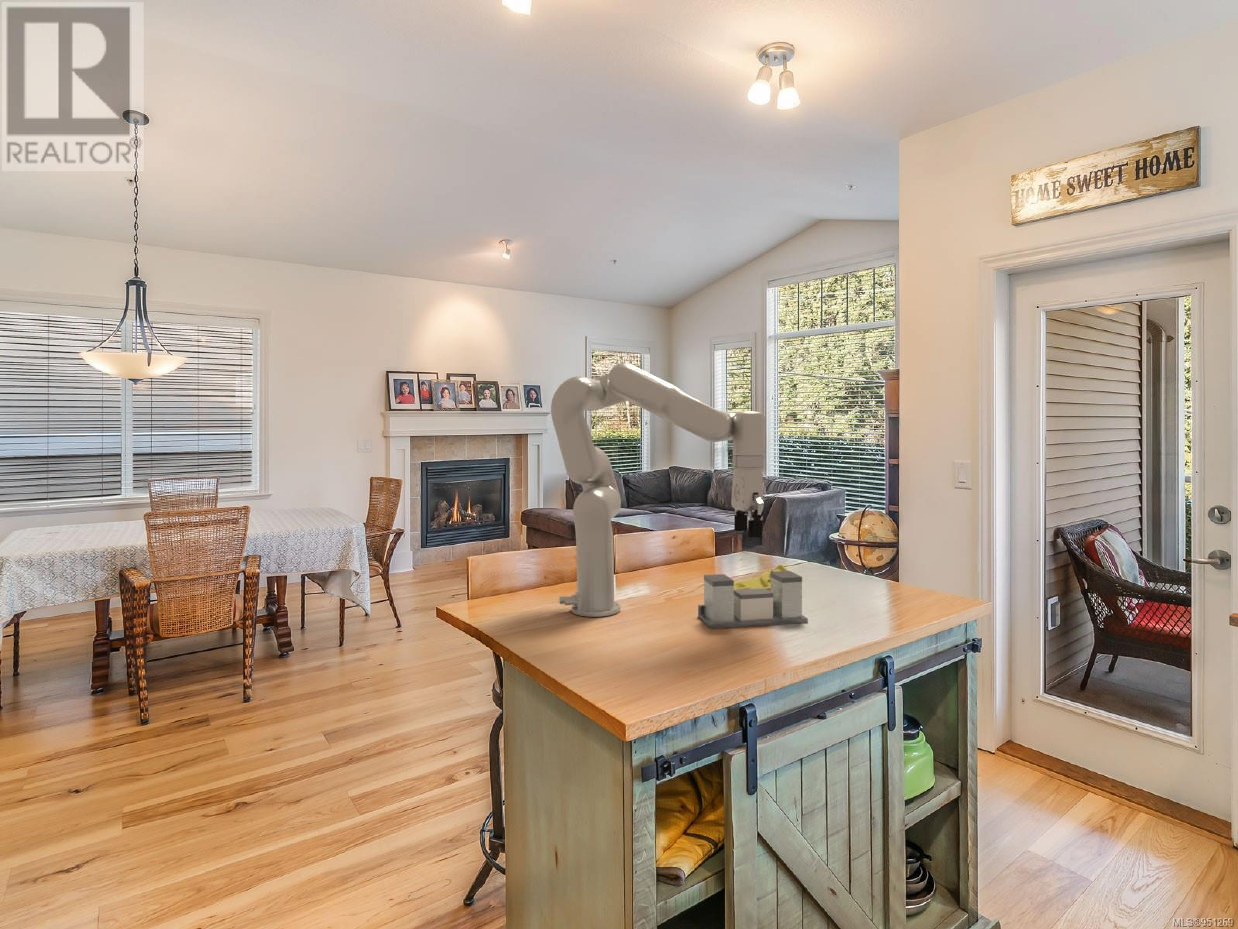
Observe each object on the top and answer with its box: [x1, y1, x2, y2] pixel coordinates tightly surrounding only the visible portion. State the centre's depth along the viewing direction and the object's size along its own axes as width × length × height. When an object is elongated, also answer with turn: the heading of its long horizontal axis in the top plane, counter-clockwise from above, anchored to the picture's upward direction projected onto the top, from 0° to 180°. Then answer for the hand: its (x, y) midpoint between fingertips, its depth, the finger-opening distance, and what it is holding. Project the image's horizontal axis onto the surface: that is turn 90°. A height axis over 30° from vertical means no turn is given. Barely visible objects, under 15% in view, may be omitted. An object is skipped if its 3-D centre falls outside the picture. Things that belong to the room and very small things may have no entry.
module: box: [734, 588, 773, 621], centre depth 159 cm, size 8×5×6 cm, turn 100°
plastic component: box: [734, 564, 789, 592], centre depth 185 cm, size 20×7×10 cm
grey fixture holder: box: [697, 570, 809, 630], centre depth 160 cm, size 24×10×11 cm, turn 99°
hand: (747, 533), depth 159 cm, fingers open, 9 cm apart
